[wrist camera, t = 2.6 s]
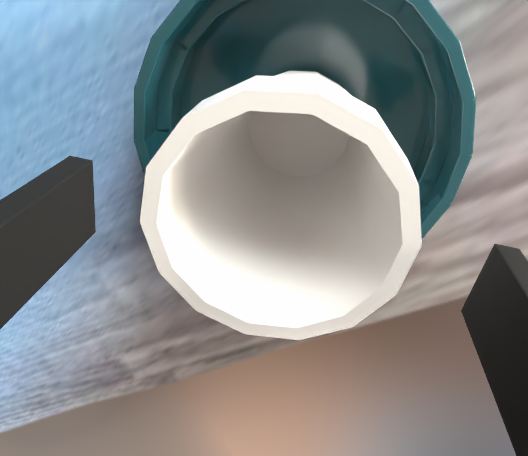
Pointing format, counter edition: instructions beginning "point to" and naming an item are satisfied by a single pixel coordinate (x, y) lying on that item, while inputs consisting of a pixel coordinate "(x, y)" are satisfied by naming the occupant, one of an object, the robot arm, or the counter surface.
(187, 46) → the bowl
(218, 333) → the counter surface
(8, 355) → the counter surface
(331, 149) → the foam cup
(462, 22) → the counter surface
